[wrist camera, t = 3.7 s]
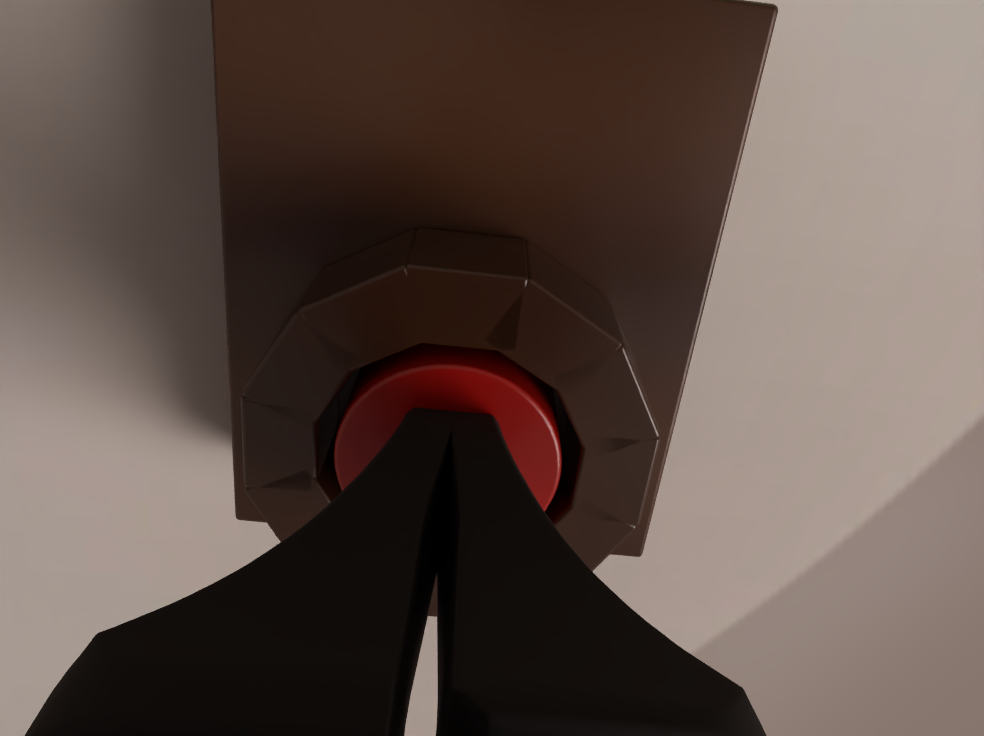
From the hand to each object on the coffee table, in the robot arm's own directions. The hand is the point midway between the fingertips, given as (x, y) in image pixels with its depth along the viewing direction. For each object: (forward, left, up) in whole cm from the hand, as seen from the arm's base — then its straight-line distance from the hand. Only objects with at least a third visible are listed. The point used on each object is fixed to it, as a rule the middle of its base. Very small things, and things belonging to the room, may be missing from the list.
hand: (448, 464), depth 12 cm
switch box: (+2, 0, -4) cm, 4 cm away
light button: (0, 0, -2) cm, 2 cm away
